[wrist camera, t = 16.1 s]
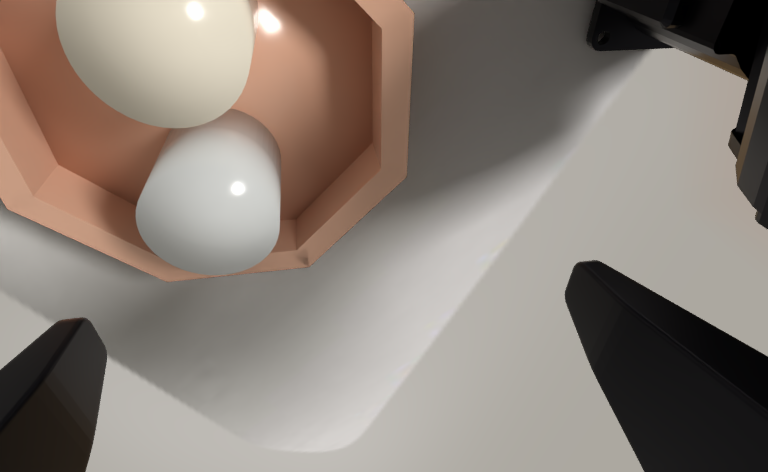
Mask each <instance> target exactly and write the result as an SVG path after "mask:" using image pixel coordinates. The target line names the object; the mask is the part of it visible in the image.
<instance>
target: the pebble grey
mask: <svg viewBox="0 0 768 472" xmlns="http://www.w3.org/2000/svg"><path fill="white" fill-rule="evenodd" d="M280 199H281V153H280V149H279V147H278V144H277V142H276V140H275V138H274V136H273V135H272V134H271V132H270V131H269V130H268V129H267V128H266V127H265V126H264V125H263V124H262V123H261V122H259V121H258V120H257V119H255V118H254V117H252V116H250V115H248V114H246V113H244V112H241V111H239V110H236V109H231V108H230V109H229V110H227V111H226V112H225V113H224V114H223V115H221V116H219V117H218V118H216V119H214V120H212V121H210V122H208V123H205V124H202V125H199V126H195V127H189V128H172V129H171V130H170V132H169V134H168V136H167V138H166V140H165V143H164V145H163V147H162V149H161V151H160V154H159V156H158V158H157V160H156V162H155V165H154V167H153V169H152V171H151V173H150V175H149V178H148V180H147V182H146V184H145V186H144V189H143V191H142V193H141V195H140V197H139V200H138V202H137V206H136V224H137V227H138V230H139V233H140V235H141V237H142V239H143V240H144V242H145V243H146V245H147V246H148V247H149V248H150V249H151V250H152V251H153V252H154V253H155V254H156V255H157V256H159V257H160V258H161V259H163V260H164V261H166V262H167V263H169V264H171V265H173V266H175V267H177V268H180V269H182V270H185V271H189V272H192V273H197V274H203V275H227V274H233V273H237V272H241V271H244V270H246V269H249V268H251V267H253V266H255V265H256V264H258V263H260V262H261V261H262V260H263V259H265V258H266V257H267V256H268V255H269V253H270V252H271V251H272V249H273V248H274V246H275V244H276V242H277V240H278V236H279V230H280Z"/></svg>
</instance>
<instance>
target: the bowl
mask: <svg viewBox="0 0 768 472" xmlns="http://www.w3.org/2000/svg"><path fill="white" fill-rule="evenodd" d="M56 1H57V0H0V198H1V200H2V201H3V203H4V205H5V206H6V208H7V209H8V210H10V211H13V212H15V213H17V214H19V215H21V216H24V217H26V218H28V219H30V220H32V221H35V222H37V223H39V224H41V225H43V226H45V227H48V228H50V229H52V230H54V231H56V232H59V233H61V234H63V235H65V236H67V237H70V238H72V239H74V240H76V241H78V242H80V243H83V244H85V245H87V246H89V247H91V248H94V249H96V250H98V251H100V252H102V253H105V254H107V255H109V256H111V257H113V258H115V259H118V260H120V261H122V262H124V263H126V264H129V265H131V266H133V267H135V268H137V269H139V270H142V271H144V272H146V273H148V274H150V275H153V276H155V277H157V278H159V279H161V280H164V281H166V282H172V281H181V280H191V279H201V278H210V277H220V276H229V275H239V274H248V273H258V272H267V271H277V270H287V269H296V268H306V267H310V266H311V265H312V264H313V263H314V262H315V261H316V260H317V259H318V258H320V257H321V256H322V255H323V254H324V253H325V252H326V251H327V250H328V249H329V248H330V247H331V246H333V245H334V244H335V243H336V242H337V241H338V240H339V239H340V238H341V237H342V236H343V235H344V234H346V233H347V232H348V231H349V230H350V229H351V228H352V227H353V226H354V225H355V224H356V223H357V222H358V221H360V220H361V219H362V218H363V217H364V216H365V215H366V214H367V213H368V212H369V211H370V210H371V209H373V208H374V207H375V206H376V205H377V204H378V203H379V202H380V201H381V200H382V199H383V198H384V197H386V196H387V195H388V194H389V193H390V192H391V191H392V190H393V189H394V188H395V187H396V186H397V185H399V184H400V183H401V182H402V181H403V180H404V179H405V178H406V177H407V160H408V139H409V118H410V96H411V75H412V53H413V32H414V12H413V11H412V10H411V9H410V8H409V7H408V6H407V4H406V3H405V2H404V1H403V0H257V2H258V10H259V22H258V29H257V34H256V39H255V45H254V50H253V55H252V60H251V65H250V70H249V75H248V78H247V82H246V85H245V87H244V89H243V91H242V93H241V95H240V96H239V98H238V99H237V101H236V102H235V103H234V104H233V105H232V107H231V109H236V110H239V111H241V112H244V113H246V114H248V115H250V116H252V117H254V118H255V119H257V120H258V121H259V122H261V123H262V124H263V125H264V126H265V127H266V128H267V129H268V130H269V131H270V132H271V134H272V135H273V136H274V138H275V140H276V142H277V144H278V147H279V149H280V153H281V199H280V230H279V236H278V240H277V242H276V244H275V246H274V248H273V249H272V251H271V252H270V253H269V255H268V256H267V257H266V258H265V259H263V260H262V261H261V262H260V263H258V264H256V265H255V266H253V267H251V268H249V269H246V270H244V271H241V272H237V273H233V274H227V275H203V274H197V273H192V272H189V271H185V270H182V269H180V268H177V267H175V266H173V265H171V264H169V263H167V262H166V261H164V260H163V259H161V258H160V257H159V256H157V255H156V254H155V253H154V252H153V251H152V250H151V249H150V248H149V247H148V246H147V245H146V243H145V242H144V240H143V239H142V237H141V235H140V233H139V230H138V227H137V224H136V206H137V202H138V200H139V197H140V195H141V193H142V191H143V189H144V186H145V184H146V182H147V180H148V178H149V175H150V173H151V171H152V169H153V167H154V165H155V162H156V160H157V158H158V156H159V154H160V151H161V149H162V147H163V145H164V143H165V140H166V138H167V136H168V134H169V132H170V130H171V129H172V128H163V127H157V126H152V125H148V124H145V123H142V122H139V121H136V120H134V119H132V118H129V117H127V116H125V115H123V114H122V113H120V112H118V111H116V110H115V109H113V108H112V107H110V106H109V105H107V104H106V103H105V102H103V101H102V100H101V99H100V98H98V97H97V96H96V95H95V94H94V93H93V92H92V91H91V90H90V89H89V88H88V87H87V86H86V85H85V84H84V82H83V81H82V80H81V79H80V77H79V76H78V75H77V73H76V72H75V70H74V69H73V67H72V66H71V64H70V62H69V60H68V58H67V56H66V55H65V53H64V50H63V47H62V45H61V42H60V39H59V35H58V30H57V24H56Z"/></svg>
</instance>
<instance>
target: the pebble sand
mask: <svg viewBox="0 0 768 472" xmlns="http://www.w3.org/2000/svg"><path fill="white" fill-rule="evenodd" d="M258 22H259V10H258V2H257V0H57V1H56V24H57V30H58V35H59V39H60V42H61V45H62V47H63V50H64V53H65V55H66V56H67V58H68V60H69V62H70V64H71V66H72V67H73V69H74V70H75V72H76V73H77V75H78V76H79V77H80V79H81V80H82V81H83V82H84V84H85V85H86V86H87V87H88V88H89V89H90V90H91V91H92V92H93V93H94V94H95V95H96V96H97V97H98V98H100V99H101V100H102V101H103V102H105V103H106V104H107V105H109V106H110V107H112V108H113V109H115V110H116V111H118V112H120V113H122V114H123V115H125V116H127V117H129V118H132V119H134V120H136V121H139V122H142V123H145V124H148V125H152V126H157V127H163V128H189V127H195V126H199V125H202V124H205V123H208V122H210V121H212V120H214V119H216V118H218V117H219V116H221V115H223V114H224V113H225V112H226V111H227V110H229V109H230V108H231V107H232V105H233V104H234V103H235V102H236V101H237V99H238V98H239V96H240V95H241V93H242V91H243V89H244V87H245V85H246V82H247V78H248V75H249V70H250V65H251V60H252V55H253V50H254V45H255V39H256V34H257V29H258Z"/></svg>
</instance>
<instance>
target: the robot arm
mask: <svg viewBox="0 0 768 472" xmlns="http://www.w3.org/2000/svg"><path fill="white" fill-rule="evenodd" d="M604 31H605V33H604V37H603V38H602V39H601V40H600V41H598V37H599V35H600V34H601V33H602V32H604ZM586 41H587V44H588V46H590V47H591V48H593V49H594V50H596V51H615V50H637V49H659V48H676V49H679V50H681V51H683V52H685V53H688V54H690V55H692V56H694V57H697V58H699V59H701V60H703V61H705V62H708V63H710V64H712V65H715V66H717V67H719V68H721V69H723V70H725V71H727V72H730V73H732V74H734V75H736V76H739V77H741V78H743V79H745V80H747V81H748V83H747V87H746V91H745V95H744V99H743V103H742V107H741V111H740V115H739V118H738V123H737V127H736V128H735V129H733V130H732V131H731V135H730V140H729V143H728V146H729V148H730V149H731V151H732V152H733V154H734V155H735V157H736V158H737V162H736V176H737V185H738V187H739V188H740V190H741V191H742V192H743V194H744V195H745V196H746V198H747V199H748V201H749V202H750V203H751V205H752V206H753V207H754V208H755V209H756V210H757V212H756V215H755V220H756V221H757V222H758V223H759V224H761V225H762V226H764V227H765V228H767V229H768V0H596V4H595V7H594V11H593V15H592V18H591V22H590V26H589V29H588V33H587V39H586ZM597 41H598V42H597ZM565 300H566V304H567V307H568V309H569V312H570V314H571V317H572V320H573V322H574V325H575V327H576V330H577V333H578V335H579V338H580V340H581V343H582V346H583V348H584V351H585V353H586V356H587V358H588V361H589V363H590V365H591V368H592V370H593V372H594V374H595V376H596V379H597V380H598V383H599V384H600V386H601V388H602V390H603V392H604V394H605V396H606V398H607V400H608V402H609V404H610V406H611V408H612V410H613V412H614V413H615V415H616V417H617V419H618V421H619V423H620V425H621V427H622V429H623V431H624V433H625V435H626V437H627V439H628V441H629V443H630V445H631V446H632V448H633V450H634V452H635V454H636V456H637V458H638V460H639V462H640V464H641V466H642V468H643V470H644V472H768V357H767V356H766V355H764V354H762V353H761V352H759V351H757V350H755V349H754V348H752V347H750V346H748V345H746V344H745V343H743V342H741V341H739V340H738V339H736V338H734V337H732V336H731V335H729V334H727V333H725V332H724V331H722V330H720V329H718V328H716V327H715V326H713V325H711V324H709V323H708V322H706V321H704V320H702V319H701V318H699V317H697V316H695V315H694V314H692V313H690V312H688V311H687V310H685V309H683V308H681V307H680V306H678V305H676V304H674V303H673V302H671V301H669V300H667V299H665V298H664V297H662V296H660V295H658V294H657V293H655V292H653V291H651V290H650V289H648V288H646V287H644V286H643V285H641V284H639V283H637V282H636V281H634V280H632V279H630V278H629V277H627V276H625V275H623V274H622V273H620V272H618V271H616V270H614V269H613V268H611V267H609V266H607V265H606V264H604V263H602V262H600V261H597V260H592V261H583V262H578V263H577V264H576V265H575V266H574V268H573V270H572V273H571V276H570V279H569V282H568V285H567V287H566V290H565ZM106 362H107V351H106V348H105V345H104V344H103V342H102V340H101V339H100V337H99V335H98V333H97V332H96V330H95V328H94V327H93V325H92V323H91V322H90V321H89V320H88V319H86V318H73V319H65V320H60V321H58V322H56V323H55V324H54V325H53V326H51V327H50V328H49V329H48V330H47V331H46V332H44V333H43V334H42V335H41V336H40V337H39V338H37V339H36V340H35V341H34V342H33V343H31V344H30V345H29V346H28V347H27V348H26V349H24V350H23V351H22V352H21V353H20V354H18V355H17V356H16V357H15V358H14V359H13V360H11V361H10V362H9V363H8V364H7V365H6V366H4V367H3V368H2V369H1V370H0V472H85V471H86V467H87V464H88V460H89V457H90V453H91V449H92V445H93V440H94V435H95V430H96V424H97V418H98V412H99V405H100V399H101V393H102V386H103V380H104V374H105V368H106Z"/></svg>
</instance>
